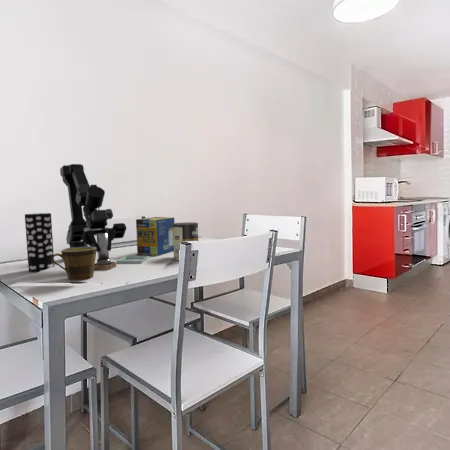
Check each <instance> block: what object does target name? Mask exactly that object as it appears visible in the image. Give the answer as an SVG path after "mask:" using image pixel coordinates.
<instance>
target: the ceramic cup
mask: <svg viewBox="0 0 450 450" xmlns="http://www.w3.org/2000/svg"><path fill="white" fill-rule="evenodd" d="M57 256H58V257H60V258H61V259H62V260H63V263H64V264H63V265H64V267H63V266H62V264H60V263H57V262H56V261H55V257H57ZM96 257H97V251H96V247H91V246H89V247H72V248H70V247H66V248H63V249H61V253H54V255H53V256H52V261H53V263H54V265H57V266H58V267H60V268H61V269H63V270H64V271H65V273H66V275H67V279H68V280H69V281H70V282H68V283H69V284H73V285H74V284H78V285H79V284H80V285H81V284H86V283H87V281H86V280H90V279H92V278H94V273H95V270H94V266H95V263H96V260H97V259H96ZM53 258H54V260H53Z"/></svg>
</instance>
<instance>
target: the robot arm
mask: <svg viewBox="0 0 450 450" xmlns="http://www.w3.org/2000/svg"><path fill="white" fill-rule="evenodd" d="M84 169H85V168H84V165H83V164H81V163H71V164H68V165H67V164H64V165H63V166H61V167H60V170H59V173H60V174H59V175H60V177H61V179H62V182H63V183H64V185H66V187H67V192H68V200H69V202H68V203H69V208H70V216H71V221H70V224H69V225H68V230H67V232H66V233H67V234H66V244H67V245H69V248H72V247H96V253H98V252H99V247H98V245H97V239H96V237H97V233H108V247H109V252H111V249H112V241H114V240H115V239H123V238H124V237H125V233H126V231H127V226H126V224H125V223H123V222H119V223H118V222H117V223H113V225H112V227H106V226H108V220H112V218H113V217H114V214H113V213H114V212H113V210H112V208H106V209H100V208H102V206H103V202H104V198H105V195H106V191H105V190H104V188H102V187H99V186H98V185H97V184H90V183H89V181H88V179H87V175H86V173H85V170H84ZM95 236H96V237H95Z"/></svg>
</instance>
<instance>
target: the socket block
mask: <svg viewBox="0 0 450 450" xmlns="http://www.w3.org/2000/svg"><path fill="white" fill-rule="evenodd" d="M110 263H111V264H110V265H97V262H95V266H94V271H109V270H112V269H115V268H116V267H117V261H110Z"/></svg>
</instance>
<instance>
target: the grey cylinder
mask: <svg viewBox="0 0 450 450" xmlns="http://www.w3.org/2000/svg"><path fill="white" fill-rule="evenodd" d="M96 242H97V245H98V247H99V252H97V259H96V263H97V265H110V264H111V263H110V262H111V258H110V251H109V247H108V233H97V235H96Z"/></svg>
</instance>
